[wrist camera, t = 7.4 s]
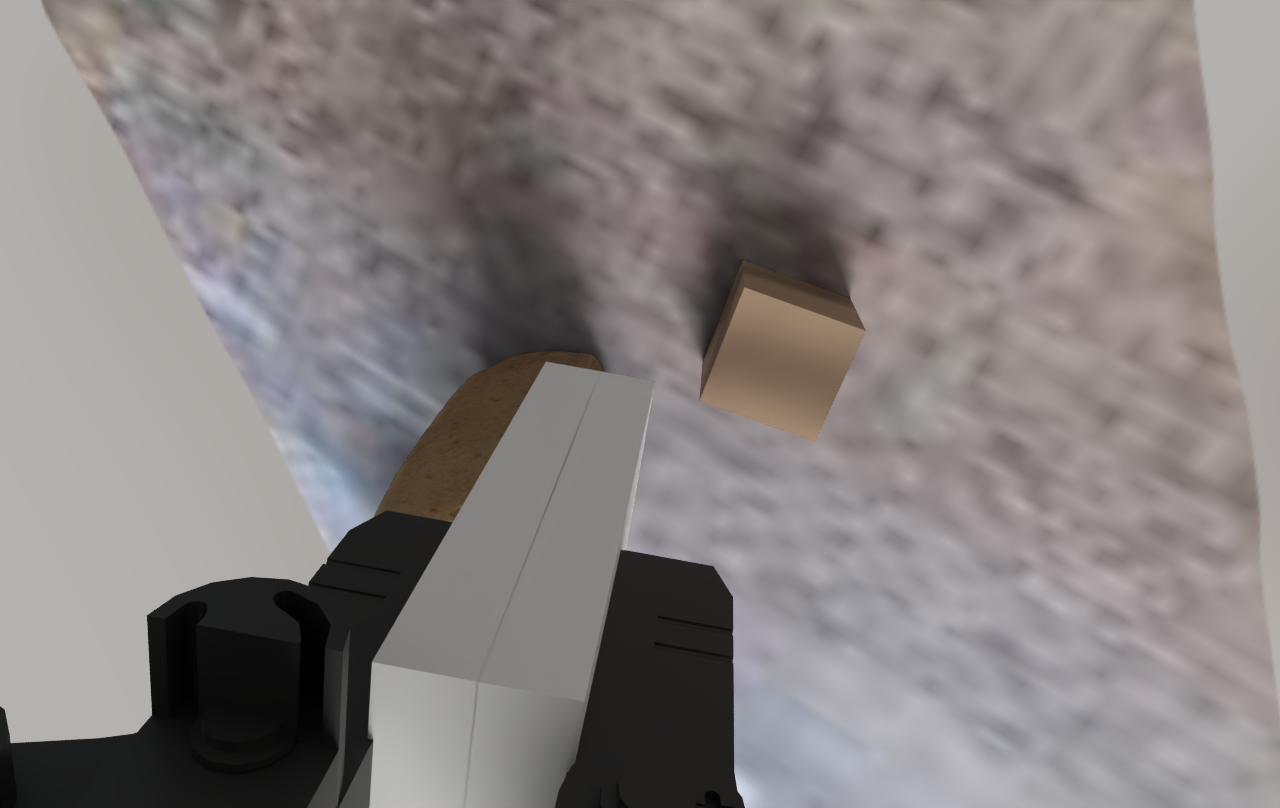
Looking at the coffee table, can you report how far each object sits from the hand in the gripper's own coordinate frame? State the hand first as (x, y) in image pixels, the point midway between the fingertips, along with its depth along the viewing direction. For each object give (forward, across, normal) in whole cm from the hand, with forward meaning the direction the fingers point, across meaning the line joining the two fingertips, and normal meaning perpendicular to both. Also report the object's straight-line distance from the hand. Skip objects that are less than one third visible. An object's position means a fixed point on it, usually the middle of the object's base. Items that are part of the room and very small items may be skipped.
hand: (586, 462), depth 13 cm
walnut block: (+37, +6, -8) cm, 38 cm away
